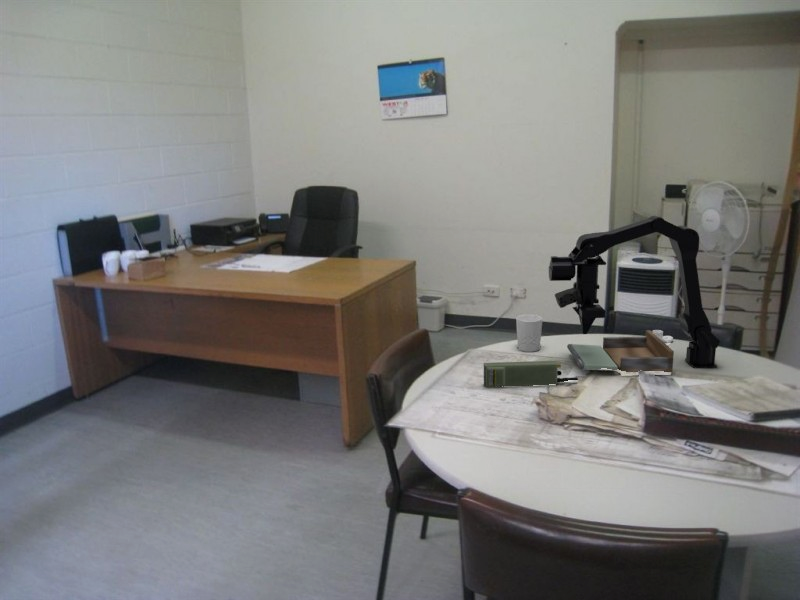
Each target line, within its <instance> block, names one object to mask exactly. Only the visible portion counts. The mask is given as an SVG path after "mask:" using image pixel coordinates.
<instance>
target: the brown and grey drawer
mask: <svg viewBox="0 0 800 600" xmlns="http://www.w3.org/2000/svg"><path fill="white" fill-rule="evenodd" d="M644 335H645V336H616V337H615V336H613V337H612V336H610V337H609V336H608V337H607V336H605V337H602V339H603V340H602V348H603V349H604V351H605V352H606V353H607V354H608V355H609V357H610V358H611V359H612V360H613V362H614V363H615V364H616V365H617V367H618V369H619V370H621V371H626V372H638V371H640V370H642V371H664V372H672V373H673V367H674V365H673V364H674V354H675V353H674V352H675V351H674V350H673V349H672V348H671V347H670V346H669V345H668V346H667V345H666V344H667V343H665V342H663V341H662V340H660V339H659V338H658V337H657V336H656V335H655V334H654V333H652V330H650V329H649V330H647V329H646V330H645V334H644Z"/></svg>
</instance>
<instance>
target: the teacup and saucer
mask: <svg viewBox="0 0 800 600" xmlns="http://www.w3.org/2000/svg"><path fill="white" fill-rule="evenodd" d="M651 332H652V333H654V334H655V335H656V336H657V337H658V338H659V339H660V340H662V341H663V342H664V343H665V344H666V345H667V346H668V347H669V346H670V345H671V343H672V342H673V340H674V337H673V336H671V335H664V331H663V330H660V329H653V330H651Z"/></svg>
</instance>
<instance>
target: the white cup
mask: <svg viewBox="0 0 800 600" xmlns="http://www.w3.org/2000/svg"><path fill="white" fill-rule="evenodd" d="M515 319H516V320H515V321H516V340H517V349H518V350H519V351H521V352H526V353H527V352H528V353H533V352H537V351H540V349H541V341H542V331H543V330H542V327H543V317H542V316H540V315H537V314H519V315H518V316H516V318H515Z"/></svg>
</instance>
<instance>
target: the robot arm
mask: <svg viewBox="0 0 800 600" xmlns="http://www.w3.org/2000/svg"><path fill="white" fill-rule="evenodd" d="M654 233H658V234H660V235H662V236H664V237H667V238H668V239H669V242H670V245H671V249H672V250H673V252H674V255H675V257H676V259H677V261H678V268H679V276H680V281H681V290H682V297H683V304H684V309H683V313H678V314H677V316H678V318H679V319H678V320H679V326H678V327H679V328H680V329H682V331H683V332H684V334H685V335H687V337H688V339H689V340H691V341H688V346H687V347H686V354H685V358H684V360H685V361H686V363H688V364H689V365H690V366H691V367H692V368H696V369H697V368H699V369H700V368H717V367H718V365H717V364H716V363H715V361H716V353H717V348H718V347H719V345H720V343H721V341H720V339H719V338H717V336H715V335H714V333H712V326H711V323H710V320H709V318H708V316H707V314H706V312H705V310H704V308H703V307H704V306H703V302H702V301H703V300H702V294H701V287H700V279H699V272H698V271H699V270H698V265H697V263H698V262H697V257H698V254H699V251H700V235H699V232H698V231H696V230H695V229H693V228H691V227H687V225H675V224H674V223H671V222H669V221H667V220H665V219H664V218H662V217H661V216H659V215H652V216H650V217H647V218H645V219H642V220H639V221H637V222H636V221H635V222H632V223H630V224H627V225H623V226H621V227H618V228H615V229H612V230H611V229H610V230H608V231H603V232H602V231H597V232H590V233H585V234H581V235H580V236H579V237H578V239H577V240H576V244H575V246H574V247H573V249H572V250H571V252H570V253H569V254H568V256H553V255H552V256H550V261H549V266H548V278H549V281H550V282H555V281H556V282H557V281H558V282H559V281H560V282H562V281H564V282H565V281H568V282H569V281H572V279H574V278H576V280H575V281H574V283H572V284H573V287H570V288H568V289H564V290H562V291H559V292H557V293H554V298H555V301H556V303H557V306H559V308H561V309H562V308H566V307H567V306H569V305H573V304H575V306H572V310H574V311H575V313H576V314H577V315H578V318H579V323H580V328H581V332H582V334H583V335H587V334H588V333H589V331H590V330H591V329H590V328H591V327H592V325H593V324H594V321H595V320H596V319H604V318H606V309H605V308H603V307H602V306H601V305H600V304H599V303H600V301H599V298H598V290H600V285H599V284H598V281H599V266H606V265H607V262H606V261H605V260H604V259H603V258H602V256H601V255H602V254H604V253H606V252H607V251H608V250H610V249H611V248H613V247H615V246H618V245H620V244H624V243H627V242H630V241H633V240H636V239H639V238H643V237H646V236H648V235H651V234H654Z"/></svg>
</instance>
